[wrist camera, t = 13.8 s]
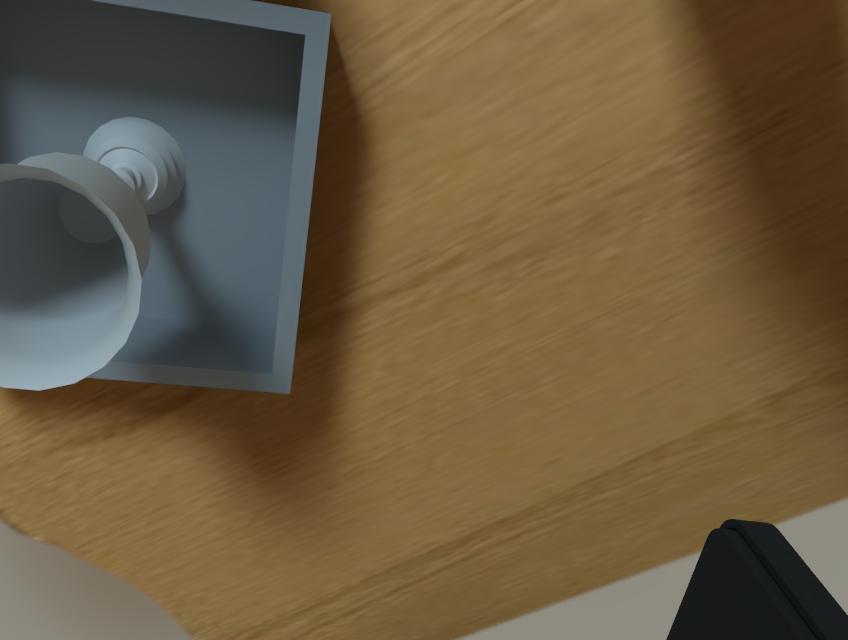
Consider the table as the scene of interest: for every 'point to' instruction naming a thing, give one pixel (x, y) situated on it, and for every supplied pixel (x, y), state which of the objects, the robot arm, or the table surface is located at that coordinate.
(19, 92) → the bin
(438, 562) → the table surface
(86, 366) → the chalice
